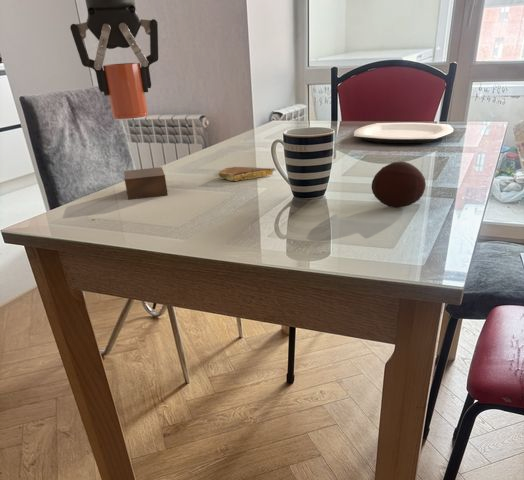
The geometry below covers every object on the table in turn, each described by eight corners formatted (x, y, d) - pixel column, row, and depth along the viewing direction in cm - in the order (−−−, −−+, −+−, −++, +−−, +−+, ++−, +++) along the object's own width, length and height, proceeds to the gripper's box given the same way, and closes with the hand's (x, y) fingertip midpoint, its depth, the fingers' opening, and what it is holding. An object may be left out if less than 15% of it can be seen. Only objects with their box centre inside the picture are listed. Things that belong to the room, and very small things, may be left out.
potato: (417, 216, 85) (423, 168, 81) (363, 211, 88) (366, 165, 84) (427, 203, 91) (433, 158, 87) (376, 199, 94) (379, 155, 90)
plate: (370, 128, 160) (370, 121, 159) (459, 130, 150) (460, 123, 148) (341, 144, 140) (342, 136, 139) (442, 148, 129) (443, 140, 128)
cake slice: (275, 175, 114) (274, 166, 113) (261, 183, 108) (261, 175, 107) (231, 173, 118) (231, 165, 117) (216, 181, 112) (215, 172, 111)
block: (128, 199, 103) (124, 179, 101) (127, 190, 109) (123, 170, 107) (167, 195, 104) (164, 175, 102) (164, 185, 111) (161, 166, 109)
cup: (112, 120, 86) (102, 66, 81) (113, 115, 91) (103, 64, 86) (148, 117, 87) (140, 63, 82) (147, 112, 92) (139, 62, 87)
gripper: (151, -27, 82) (167, 88, 91) (59, -24, 80) (84, 95, 89) (153, -33, 76) (170, 92, 85) (53, -29, 74) (81, 99, 83)
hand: (126, 93), depth 87 cm, fingers closed on cup, 6 cm apart
